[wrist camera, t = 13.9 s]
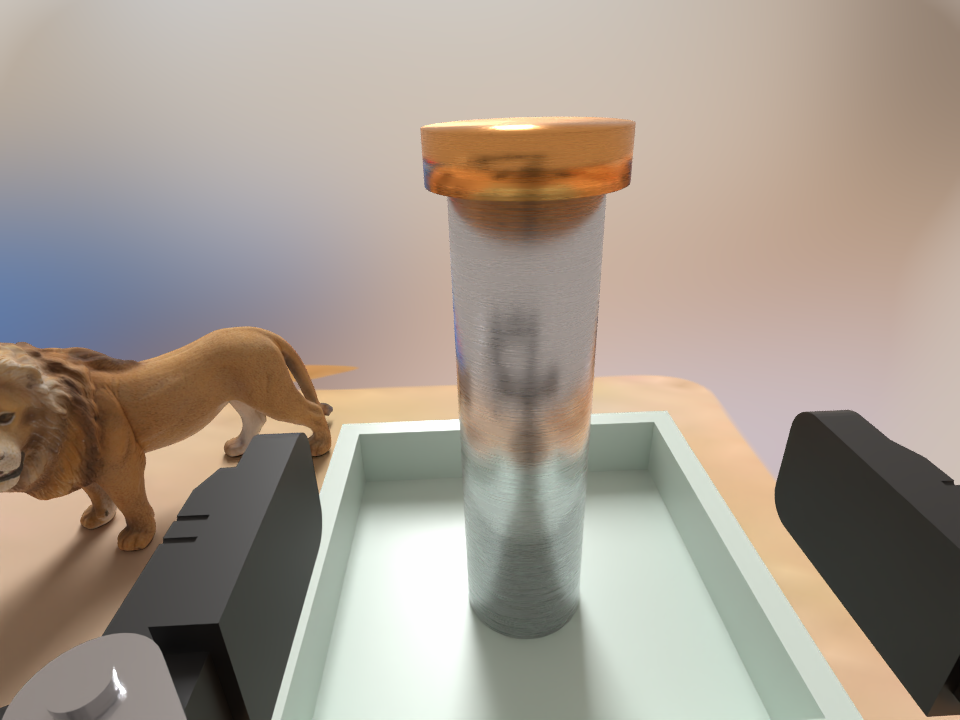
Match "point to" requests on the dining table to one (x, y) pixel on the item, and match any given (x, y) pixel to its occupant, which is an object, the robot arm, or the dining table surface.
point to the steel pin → (526, 346)
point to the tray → (601, 607)
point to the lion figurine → (139, 415)
